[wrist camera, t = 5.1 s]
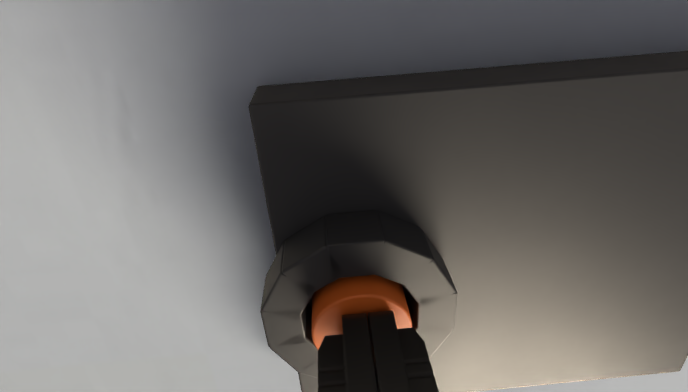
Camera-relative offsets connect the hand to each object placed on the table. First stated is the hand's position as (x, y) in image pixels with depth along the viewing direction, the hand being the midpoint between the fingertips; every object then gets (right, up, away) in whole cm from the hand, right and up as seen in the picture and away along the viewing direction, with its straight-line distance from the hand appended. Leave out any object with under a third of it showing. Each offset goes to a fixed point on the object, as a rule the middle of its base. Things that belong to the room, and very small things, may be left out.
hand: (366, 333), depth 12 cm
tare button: (0, +1, +1) cm, 2 cm away
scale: (+5, +2, +4) cm, 7 cm away
